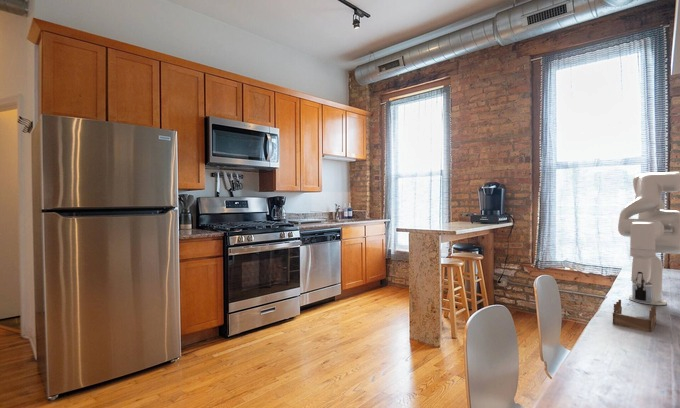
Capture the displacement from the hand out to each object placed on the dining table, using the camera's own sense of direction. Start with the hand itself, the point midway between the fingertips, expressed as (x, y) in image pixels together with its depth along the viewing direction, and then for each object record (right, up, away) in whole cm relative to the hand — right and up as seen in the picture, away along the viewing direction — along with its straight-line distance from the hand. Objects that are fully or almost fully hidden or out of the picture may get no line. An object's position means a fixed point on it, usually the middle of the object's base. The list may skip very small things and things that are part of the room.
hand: (641, 297), depth 140 cm
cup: (0, -1, 0) cm, 1 cm away
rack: (-12, -7, -11) cm, 18 cm away
